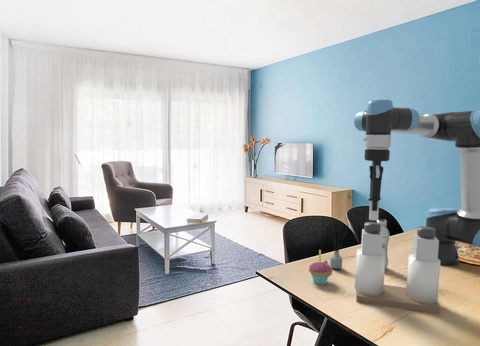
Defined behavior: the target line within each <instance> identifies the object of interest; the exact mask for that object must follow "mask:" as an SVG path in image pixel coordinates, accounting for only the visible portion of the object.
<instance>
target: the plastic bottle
mask: <svg viewBox="0 0 480 346" xmlns="http://www.w3.org/2000/svg"><path fill="white" fill-rule="evenodd" d="M376 223H379V224H381V230H380V231H381V232H382V234H383V242H382V252H384V253H385V254H386V256H385V270H386V269H387V268H388V267H389V257H388V246H389V240H390V231H389V229H388V228H387V226H388V225H387V223H388V221H387V220H386V219H378V221H376Z"/></svg>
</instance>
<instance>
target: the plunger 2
mask: <svg viewBox="0 0 480 346" xmlns="http://www.w3.org/2000/svg"><path fill="white" fill-rule="evenodd" d="M435 232H436V229H434V228H431V227H426V225H425V226H420V225H419V226H418V227H417V231H416V234H417V235H418V236H420V237H423V238H435Z"/></svg>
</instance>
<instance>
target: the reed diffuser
mask: <svg viewBox="0 0 480 346" xmlns="http://www.w3.org/2000/svg"><path fill="white" fill-rule="evenodd" d="M342 223H343V222H342V220H341V221H340V228H339V233H338V235H339V236H338V240H337V242H336V240H335V239H336V233H335V231H333V233H332V227H331V223H330V220H329V219H328V226H329V229H330V233H331V238H332V242H333V246H334V249H333V251H334V252H333V255H331V256H330V261H329V262H328V260H327V259H325V260H324V261H322V262H323V263H326V264H328V265H330V267H331V268H332V269H336V270H337V269H342V268H343V257H342V256H341V255H340V249H341V246H342V243H343V241H344V238H345V237H346V233H347V231H348V227H349V225H350V223H348V224H347V227H346V230H345V232H344V234H343V238H342V239H341V242H340V237H341V229H342ZM332 226H333V230H335V224H332ZM333 235H334V236H333ZM336 243H337V244H336ZM339 243H340V246H339Z"/></svg>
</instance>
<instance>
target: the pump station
mask: <svg viewBox="0 0 480 346" xmlns="http://www.w3.org/2000/svg"><path fill="white" fill-rule="evenodd" d="M412 238H413V239H412V249H411V250H412V252H411V253H410V254H408V260H407V273H406V287H405V286H404V287H403V286H396V285H390V284H389V285H388V284H385V270H386V269H385V256H386V254H385V253H384V252H382V242H383V234H382V232H381V231H380V233H370V232H366V231H364V228H362V230H361V243H360V248H357V249H356V255H355V256H356V257H355V259H356V261H355V277H354V289H355V298H356V299H355V300H356V302H357V303H364V304H371V305H375V306H376V305H378V306H384V307H389V308H390V307H391V308H397V309H404V310H411V311H416V312H417V311H418V312H424V313H428V314H429V313H430V314H437V315H440V313H441V307H440V305H439V303H438V297H439V287H440V286H439V284H440V274H441V273H440V272H441V271H440V270H441V264H440V262H441V261H440V259H438V248H439V240H438V239H437V238H436V237H435V238H423V237H420V236H418V235H417V233H413V236H412Z"/></svg>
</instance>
